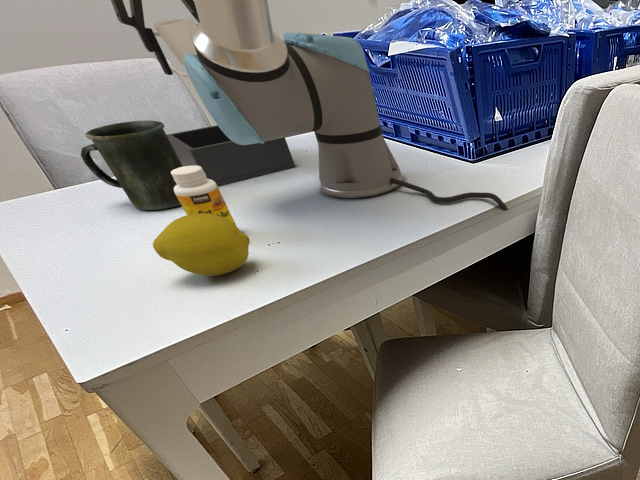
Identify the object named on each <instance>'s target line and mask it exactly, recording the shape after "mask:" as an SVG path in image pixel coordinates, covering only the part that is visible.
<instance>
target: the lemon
mask: <svg viewBox="0 0 640 480" xmlns="http://www.w3.org/2000/svg"><path fill="white" fill-rule="evenodd" d="M235 224H236V223H235ZM235 224H234V223H232V222H231V221H230V220H228V219H226V218H224V217H222V216H218V215H215V214H209V213H200V214H191V215H187V214H185V215H183V216H180V217H178V218H175V219H174V220H173V221H172V222H170V223H169V224H167V226H165V228H163V230H162V231H161V232H160V233H159V234H158V235H157V236H156V237H155V239H154V240H153V242H152V248H153V249H154V251H155V252H156V254H157V255H158V256H159V257H160V258H162V259H164V260H167V261H170V262H172V263H174V265H176V266H177V267H179V268H180V269H182V270H184V271H186V272H188V273H191V274H196V275H200V276H208V277H209V276H213V277H215V276H222V275H226V274H229V273H232V272H234V271H235V270H238V269H239V268H241V267H242V266H243V265H244V264H245V263H246V262H247V260H248V258H249V246H250V243H251V239H250V238H249V236H248V235H247V234H245V233H242V231H241V230H240V228H238V226H237V224H236V225H235Z"/></svg>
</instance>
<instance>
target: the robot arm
mask: <svg viewBox="0 0 640 480" xmlns="http://www.w3.org/2000/svg"><path fill="white" fill-rule="evenodd" d="M180 1H181V2H182V3H183V5H184V6H185V7H186V9H187V10H188V11H189V13H190V14H191V16H192V17H193V19H194V20H196V22H197V23H195V24H196V26H195V28H194V29H193V31H192V39H193V43H194V46H195V49H196V53H197V55H195V54H189V55H188V56H186V57H185V58H184V65H185V67H184V69H185V71H186V74H188V75H189V78H188V79H189V80H190V82H191V84H192V86H193V88H194V89H195V91H196V93H197V95H198V97H199V98H200V100H201V102H202V103H203V105H204V107H205V108H206V110H207V112H208V113H209V115H210V116H211V118H212V119H213V121H214V122H215V124H216V125H218V126H219V128H220V129H221V130H222V131H223V133H224V134H225V135H226V136H227V137H228V138H229V139H230V140H231V141H233V142H234V143H236V144H239V145H248V144H255V143H261V144H263V143H264V142H265V141H270V140H275V139H279V138H284V137H285V138H289V137H293V136H297V135H302V134H307V133H311V132H314V135H315V138H316V142H317V146H318V179H319V184H320V186H321V187H320V188H321V190H322V192H323V194H325V195H327V196H330V197H334V198H338V199H361V198H370V197H375V196H379V195H383V194H386V193H389V192H391V191H393V190H395V189H397V188H398V187H399V186H400V187H403V188H406V189H409V190H412V191H415V192H419V193H421V194H424V195H425V196H427V197H429V199H430V200H432V201H433V202H435V203H441V204H447V203H455V202H459V201H463V200H467V199H490V200H492V201H494V202H495V203H496V204H497V205H498V206H499V208H500V209H501V210H502V211H509V208H508V207H507V205H506V203H505V202H504V201H503V200H502V199H501V198H500V197H499V196H498V195H496V194H494V193H493V192H479V191H478V192H475V191H472V192H471V191H470V192H465V193H460V194H455V195H452V196H437V195H435V193H433V192H432V191H431V190H429V189H427V188H424V187H421V186H418V185H416V184H413V183H410V182H406V181H404V180H403V175H402V172H401V168H400V166H399V164H398V163H397V161H396V159H395V157H394V155H393V153H392V151H391V150H390V147H389V146H388V143H387V142H386V139H385V138H384V134H383V131H382V125H381V121H380V116H379V112H378V107H377V103H376V99H375V94H374V90H373V86H372V81H371V75H370V73H371V71H370V68H369V67H368V63H367V60H366V57H365V53H364V49H363V47H362V45H361V44H360V42H358V41H357V40H356V39H354V37H353V38H352V37H348V36H339V35H330V34H329V35H328V34H319V33H318V34H317V33H302V32H289V31H286V32H284V33H283V39H282V38H281V37H280V36H279V35H278V34H277V32H275V31H274V30H273V25H272V19H271V12H270V7H269V1H268V0H180ZM110 2H111V5H112V8H113V10H114V12H115V16H116V18H117V20H118V22H119V23H120V24H123V25H127V26H130V27H132V28H133V29H135V31H136V32H137V34H138V36H139V38H140V41H141V43H142V44H143V46H144V48H145V49H146V50H147V51H148V52H149V53H152V52H155V55H156V57H157V59H158V61H159V62H158V61H157V62H158V63H159V65H160V67H161V69H162V71H163V72H164V75H168V76H174V72H172V70H171V68H172V67H171V66H170V64H169V62H168V60H167V58H166V56H165V54H164V52H163V50H162V47H161V45H160V43H159V42H158V39H157V36H155V35H154V33H153V32H154V30H153V29H152V28H151V27H146V24H145V15H144V7H143V0H129V1H128V2H129V9H130V15H131V16H129V14H128V11H127V8H126V6H125V2H124V0H110ZM170 67H171V68H170Z"/></svg>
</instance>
